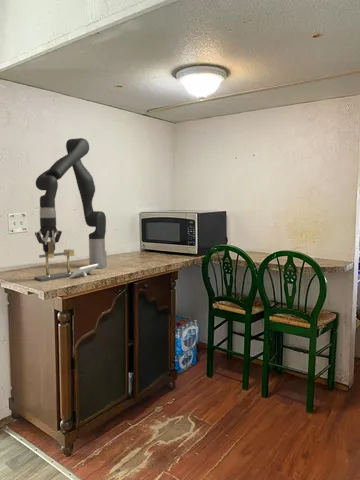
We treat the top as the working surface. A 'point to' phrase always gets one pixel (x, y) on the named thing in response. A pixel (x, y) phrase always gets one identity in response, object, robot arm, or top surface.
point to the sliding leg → (49, 254)
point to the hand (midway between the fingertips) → (49, 251)
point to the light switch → (84, 270)
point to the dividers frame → (66, 253)
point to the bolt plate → (53, 276)
